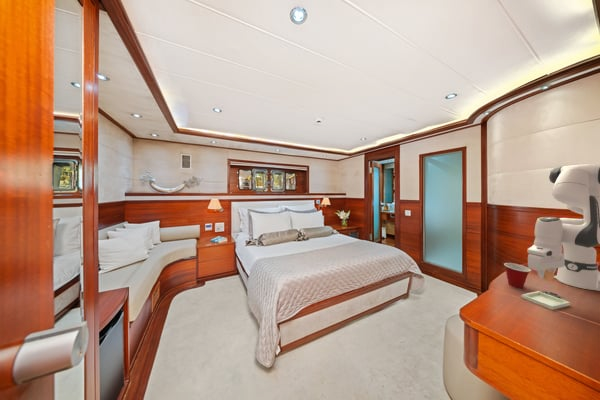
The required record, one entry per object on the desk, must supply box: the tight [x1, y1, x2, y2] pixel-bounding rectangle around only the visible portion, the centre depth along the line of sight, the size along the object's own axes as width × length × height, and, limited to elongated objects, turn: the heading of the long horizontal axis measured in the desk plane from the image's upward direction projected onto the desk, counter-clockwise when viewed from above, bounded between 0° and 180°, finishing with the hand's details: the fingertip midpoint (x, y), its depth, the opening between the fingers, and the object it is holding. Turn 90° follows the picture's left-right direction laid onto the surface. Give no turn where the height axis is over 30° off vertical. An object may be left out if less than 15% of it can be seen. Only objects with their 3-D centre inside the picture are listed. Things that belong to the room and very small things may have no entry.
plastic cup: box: [503, 262, 532, 289], centre depth 116 cm, size 11×11×12 cm
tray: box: [520, 290, 571, 311], centre depth 100 cm, size 13×11×2 cm
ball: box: [540, 269, 555, 282], centre depth 99 cm, size 5×5×5 cm
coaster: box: [541, 290, 566, 300], centre depth 106 cm, size 7×7×1 cm
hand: (545, 277), depth 99 cm, fingers closed on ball, 5 cm apart
